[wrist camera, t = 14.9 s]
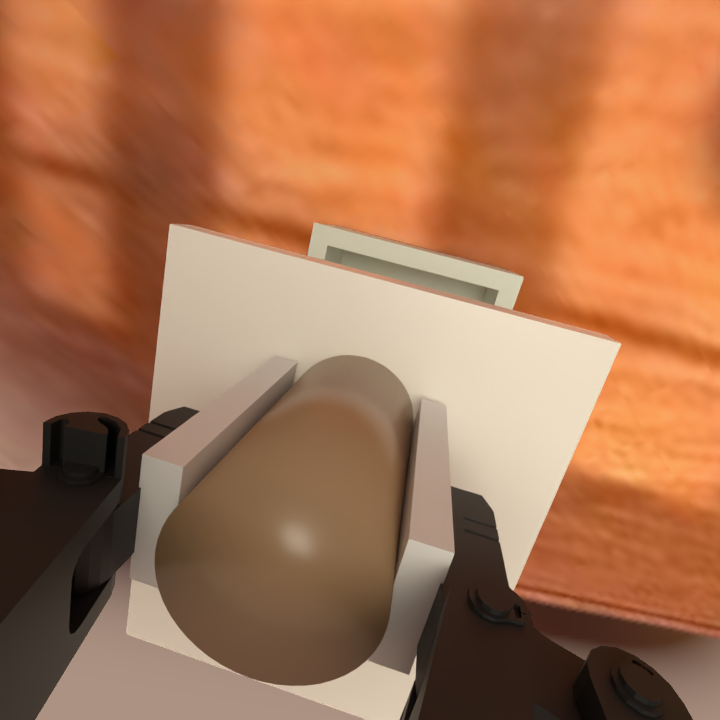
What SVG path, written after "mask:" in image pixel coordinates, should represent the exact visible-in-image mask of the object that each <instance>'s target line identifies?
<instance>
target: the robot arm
mask: <svg viewBox="0 0 720 720" xmlns="http://www.w3.org/2000/svg"><path fill="white" fill-rule="evenodd" d="M296 367H297V362H294V361H291V360H287V359H284V358H280V357H277V356H274V357H272V358H271V359H270V360H268V361H267V362H265V363H264V364H263V365H261V366H260V367H259V368H257V369H256V370H255V371H253V372H252V373H251V374H249V375H248V376H247V377H245V378H244V379H243V380H241V381H240V382H239V383H237V384H236V385H235V386H233V387H232V388H231V389H229V390H228V391H226V392H225V393H224V394H222V395H221V396H220V397H218V398H217V399H216V400H214V401H213V402H212V403H210V404H209V405H208V406H206V407H205V408H204V409H202V410H201V411H198V410H194V409H191V408H188V407H185V406H184V407H180V408H177V409H173V410H170V411H166V412H164V413H162V414H161V415H159V416H158V417H156V418H155V419H153V420H151V422H150V423H147V424H145V425H144V426H142V427H141V428H139V430H138V431H137V430H136V431H135V432H133V433H131V434H130V435H129V429H128V427H127V424H126V423H125V422H124V421H122V420H121V419H119V418H118V417H115V416H112V415H108V414H105V413H96V412H76V413H68V414H64V415H60V416H56V417H54V418H51V419H49V420H47V421H45V422H43V454H42V466H40V467H39V468H38V469H37V470H36V471H34V472H28V471H17V470H6V469H0V720H35V719H36V717H37V716H38V714H39V712H40V711H41V709H42V707H43V706H44V704H45V703H46V701H47V699H48V697H49V696H50V694H51V693H52V691H53V689H54V688H55V686H56V684H57V683H58V681H59V680H60V678H61V676H62V675H63V673H64V671H65V670H66V668H67V666H68V665H69V663H70V661H71V660H72V658H73V657H74V655H75V653H76V652H77V650H78V648H79V647H80V645H81V644H82V642H83V640H84V639H85V637H86V635H87V634H88V632H89V630H90V629H91V627H92V626H93V624H94V622H95V621H96V619H97V617H98V616H99V614H100V613H101V611H102V609H103V608H104V606H105V604H106V603H107V601H108V599H109V598H110V596H111V594H112V591H113V588H114V584H115V574H116V571H117V570H118V569H119V568H120V567H121V566H122V565H123V563H124V562H125V561H126V560H127V559H128V558H129V557H130V556H131V555H132V558H131V566H130V576H129V578H130V579H132V580H135V581H138V582H141V583H144V584H147V585H150V586H153V587H155V588H158V585H157V581H156V575H155V565H154V562H155V549H156V544H157V539H158V537H159V534H160V531H161V529H162V526H163V525H164V523H165V521H166V520H167V518H168V516H169V515H170V514H171V513H172V512H173V510H174V509H175V508H176V507H177V506H178V505H179V504H180V503H181V501H182V500H183V499H184V498H185V497H186V496H187V495H188V494H189V493H190V492H191V491H192V490H193V489H194V488H195V487H196V486H197V485H198V484H199V483H200V482H201V481H202V480H203V479H204V477H205V476H206V475H207V474H208V473H209V472H210V471H211V470H212V469H213V468H214V467H215V466H216V465H217V464H218V463H219V462H220V461H221V460H222V459H223V458H224V457H225V456H226V455H227V453H228V452H229V451H230V450H231V449H232V448H233V447H234V446H235V445H236V444H237V443H238V442H239V441H240V440H241V439H242V438H243V437H244V436H245V435H246V434H247V433H248V432H249V430H250V429H251V428H252V427H253V426H254V425H255V424H256V423H257V422H258V421H259V420H260V419H261V418H262V417H263V416H264V415H265V414H266V413H267V412H268V411H269V410H270V409H271V408H272V406H273V405H274V404H275V403H276V402H277V401H278V400H279V399H280V398H281V397H282V396H283V395H284V394H285V393H286V392H287V391H288V390H289V389H290V388H291V387H292V386H293V381H294V377H295V372H296ZM496 527H497V526H496V521H495V516H494V512H493V510H492V508H491V507H490V506H489V504H488V503H487V502H486V500H485V499H484V497H483V496H482V495H479V494H475V493H472V492H469V491H465V490H462V489H459V488H456V487H452V486H451V481H450V464H449V447H448V430H447V412H446V405H443V404H440V403H436V402H433V401H429V400H426V399H421V402H420V405H419V408H418V412H417V415H416V418H415V421H414V425H413V428H412V436H411V444H410V453H409V461H408V469H407V477H406V485H405V494H404V502H403V510H402V518H401V526H400V534H399V543H398V551H397V559H396V567H395V575H394V584H393V594H392V602H391V611H390V618H389V622H388V626H387V630H386V632H385V634H384V637H383V639H382V641H381V643H380V644H379V646H378V647H377V649H376V650H375V652H374V653H373V654H372V655H371V656H370V657H369V659H368V661H370V662H373V663H376V664H379V665H381V666H384V667H387V668H390V669H393V670H396V671H399V672H402V673H405V674H407V675H409V674H410V671H411V668H412V666H413V663H414V660H415V658H416V678H415V681H414V683H413V686H412V689H411V691H410V694H409V696H408V699H407V702H406V704H405V707H404V709H403V712H402V715H401V717H400V720H693V719H692V717H691V715H690V714H689V712H688V710H687V708H686V707H685V705H684V703H683V702H682V701H681V699H680V698H679V697H678V695H677V694H676V692H675V691H674V689H673V688H672V687H671V685H670V684H669V683H668V682H667V681H666V680H665V679H664V678H662V676H660V674H658V673H657V672H656V671H655V670H654V669H653V668H652V667H650V666H649V665H648V664H646V663H645V662H643V661H642V660H640V659H639V658H637V657H636V656H634V655H632V654H630V653H627V652H625V651H623V650H621V649H619V648H615V647H608V646H600V647H597V648H595V649H592V650H591V651H590V653H589V655H588V657H587V659H586V661H585V660H583V659H581V658H580V657H578V656H576V655H575V654H573V653H571V652H569V651H568V650H566V649H564V648H563V647H561V646H559V645H557V644H556V643H554V642H553V641H551V640H550V639H548V638H546V637H545V636H544V635H542V634H541V633H540V632H539V631H537V630H536V629H535V628H534V627H533V623H532V618H531V614H530V611H529V610H528V608H527V606H526V605H525V603H524V602H523V600H522V599H521V598H520V597H519V596H518V595H517V594H516V593H515V592H514V591H513V590H512V589H511V588H510V587H509V584H508V579H507V574H506V569H505V564H504V560H503V555H502V550H501V545H500V542H499V536H498V531H497V529H496ZM416 655H417V657H416Z"/></svg>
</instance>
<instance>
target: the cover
mask: <svg viewBox="0 0 720 720" xmlns="http://www.w3.org/2000/svg"><path fill="white" fill-rule="evenodd" d="M620 346H621V343H619V342H618V341H616V340H614V339H612V338H611V337H609V336H607V335H605V334H602V333H598V332H594V331H590V330H587V329H583V328H579V327H575V326H571V325H568V324H564V323H560V322H556V321H553V320H549V319H545V318H541V317H537V316H534V315H530V314H526V313H522V312H519V311H515V310H511V309H507V308H503V307H500V306H496V305H492V304H488V303H485V302H481V301H477V300H473V299H469V298H466V297H462V296H458V295H454V294H451V293H447V292H443V291H439V290H435V289H432V288H428V287H424V286H420V285H417V284H413V283H409V282H405V281H401V280H398V279H394V278H390V277H386V276H383V275H379V274H375V273H371V272H367V271H364V270H360V269H356V268H352V267H349V266H345V265H341V264H337V263H333V262H330V261H326V260H322V259H318V258H315V257H311V256H307V255H303V254H299V253H296V252H292V251H288V250H284V249H281V248H277V247H273V246H269V245H265V244H262V243H258V242H254V241H250V240H247V239H243V238H239V237H235V236H231V235H228V234H224V233H220V232H216V231H213V230H209V229H205V228H201V227H197V226H194V225H187V224H170V227H169V236H168V246H167V255H166V265H165V274H164V283H163V293H162V302H161V311H160V321H159V330H158V340H157V349H156V358H155V368H154V377H153V386H152V396H151V405H150V415H149V423H150V422H151V420H153V419H155V418H156V417H158V416H159V415H161V414H162V413H164V412H166V411H170V410H173V409H177V408H180V407H184V406H185V407H188V408H191V409H194V410H198V411H201V410H202V409H204V408H205V407H206V406H208V405H209V404H210V403H212V402H213V401H214V400H216V399H217V398H218V397H220V396H221V395H222V394H224V393H225V392H226V391H228V390H229V389H231V388H232V387H233V386H235V385H236V384H237V383H239V382H240V381H241V380H243V379H244V378H245V377H247V376H248V375H249V374H251V373H252V372H253V371H255V370H256V369H257V368H259V367H260V366H261V365H263V364H264V363H265V362H267V361H268V360H270V359H271V358H272V357H274V356H277V357H280V358H284V359H287V360H291V361H294V362H297V367H296V372H295V377H294V381H293V386H292V387H291V388H290V389H289V390H288V391H287V392H286V393H285V394H284V395H283V396H282V397H281V398H280V399H279V400H278V401H277V402H276V403H275V404H274V405H273V406H272V408H271V409H270V410H269V411H268V412H267V413H266V414H265V415H264V416H263V417H262V418H261V419H260V420H259V421H258V422H257V423H256V424H255V425H254V426H253V427H252V428H251V429H250V430H249V432H248V433H247V434H246V435H245V436H244V437H243V438H242V439H241V440H240V441H239V442H238V443H237V444H236V445H235V446H234V447H233V448H232V449H231V450H230V451H229V452H228V453H227V455H226V456H225V457H224V458H223V459H222V460H221V461H220V462H219V463H218V464H217V465H216V466H215V467H214V468H213V469H212V470H211V471H210V472H209V473H208V474H207V475H206V476H205V477H204V479H203V480H202V481H201V482H200V483H199V484H198V485H197V486H196V487H195V488H194V489H193V490H192V491H191V492H190V493H189V494H188V495H187V496H186V497H185V498H184V499H183V500H182V501H181V503H180V504H179V505H178V506H177V507H176V508H175V509H174V510H173V512H172V513H171V514H170V515H169V516H168V518H167V520H166V521H165V523H164V525H163V526H162V529H161V531H160V534H159V537H158V539H157V544H156V549H155V562H154V565H155V575H156V581H157V585H158V588H155V587H153V586H150V585H147V584H144V583H141V582H138V581H135V580H132V583H131V593H130V602H129V612H128V621H127V630H126V634H127V635H130V636H133V637H136V638H138V639H142V640H144V641H147V642H150V643H152V644H155V645H158V646H161V647H164V648H166V649H169V650H172V651H175V652H178V653H180V654H183V655H186V656H189V657H192V658H195V659H198V660H200V661H203V662H206V663H209V664H211V665H214V666H217V667H220V668H223V669H225V670H228V671H231V672H234V673H237V674H240V675H242V676H245V677H248V678H251V679H253V680H256V681H259V682H262V683H265V684H268V685H270V686H273V687H276V688H279V689H282V690H285V691H287V692H290V693H293V694H296V695H298V696H301V697H304V698H307V699H310V700H312V701H316V702H318V703H321V704H324V705H327V706H329V707H332V708H335V709H338V710H340V711H344V712H346V713H349V714H352V715H354V716H357V717H360V718H363V719H366V720H400V717H401V715H402V712H403V709H404V707H405V704H406V702H407V699H408V696H409V694H410V691H411V689H412V686H413V683H414V681H415V678H416V658H415V660H414V663H413V666H412V668H411V671H410V674H409V675H407V674H405V673H402V672H399V671H396V670H393V669H390V668H387V667H384V666H381V665H379V664H376V663H373V662H370V661H368V659H369V657H370V656H371V655H372V654H373V653H374V652H375V650H376V649H377V647H378V646H379V644H380V643H381V641H382V639H383V637H384V634H385V632H386V630H387V626H388V622H389V618H390V611H391V602H392V594H393V584H394V575H395V567H396V559H397V551H398V543H399V534H400V526H401V518H402V510H403V502H404V494H405V485H406V477H407V469H408V461H409V453H410V444H411V436H412V428H413V425H414V421H415V418H416V415H417V412H418V408H419V405H420V402H421V399H426V400H429V401H433V402H436V403H440V404H443V405H446V412H447V430H448V447H449V464H450V481H451V486H452V487H456V488H459V489H462V490H465V491H469V492H472V493H475V494H479V495H482V496H483V497H484V499H485V500H486V502H487V503H488V504H489V506H490V507H491V508H492V510H493V512H494V516H495V521H496V526H497V527H496V529H497V531H498V536H499V542H500V545H501V550H502V555H503V560H504V564H505V569H506V574H507V579H508V584H509V587H510V588H511V589H512V590H513V591H514V588H515V586H516V584H517V582H518V579H519V577H520V575H521V572H522V570H523V568H524V566H525V563H526V561H527V559H528V556H529V554H530V552H531V550H532V547H533V545H534V543H535V540H536V538H537V536H538V533H539V531H540V529H541V527H542V524H543V522H544V520H545V517H546V515H547V513H548V511H549V508H550V506H551V504H552V501H553V499H554V497H555V495H556V492H557V490H558V488H559V485H560V483H561V481H562V479H563V476H564V474H565V472H566V469H567V467H568V465H569V463H570V460H571V458H572V456H573V453H574V451H575V449H576V447H577V444H578V442H579V440H580V437H581V435H582V433H583V430H584V428H585V426H586V424H587V421H588V419H589V417H590V414H591V412H592V410H593V408H594V405H595V403H596V401H597V398H598V396H599V394H600V392H601V389H602V387H603V385H604V382H605V380H606V378H607V376H608V373H609V371H610V369H611V366H612V364H613V362H614V360H615V357H616V355H617V353H618V350H619V348H620ZM416 657H417V655H416Z"/></svg>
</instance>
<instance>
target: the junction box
mask: <svg viewBox="0 0 720 720" xmlns="http://www.w3.org/2000/svg"><path fill="white" fill-rule="evenodd" d="M307 256H311V257H315V258H318V259H322V260H326V261H330V262H333V263H337V264H341V265H345V266H349V267H352V268H356V269H360V270H364V271H367V272H371V273H375V274H379V275H383V276H386V277H390V278H394V279H398V280H401V281H405V282H409V283H413V284H417V285H420V286H424V287H428V288H432V289H435V290H439V291H443V292H447V293H451V294H454V295H458V296H462V297H466V298H469V299H473V300H477V301H481V302H485V303H488V304H492V305H496V306H500V307H503V308H507V309H511V310H513V307H514V304H515V301H516V298H517V295H518V293H519V290H520V287H521V284H522V281H523V278H524V277H523V276H521V275H518V274H516V273H514V272H512V271H510V270H507V269H504V268H500V267H496V266H492V265H488V264H484V263H480V262H476V261H473V260H469V259H465V258H461V257H457V256H453V255H449V254H445V253H442V252H438V251H434V250H430V249H426V248H422V247H418V246H415V245H411V244H407V243H403V242H399V241H395V240H391V239H387V238H384V237H380V236H376V235H372V234H368V233H364V232H360V231H356V230H353V229H349V228H345V227H341V226H337V225H330V224H321V223H314V225H313V230H312V235H311V240H310V245H309V250H308V255H307Z"/></svg>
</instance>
